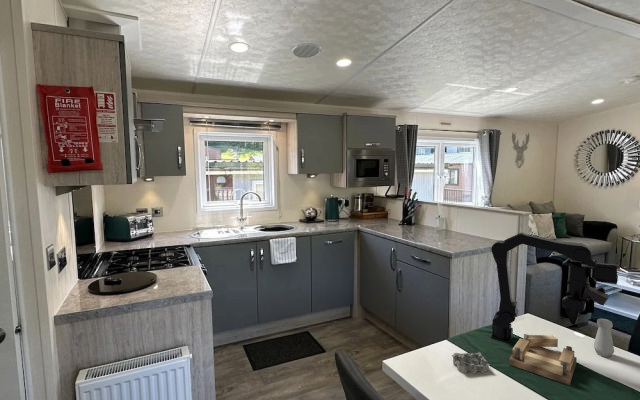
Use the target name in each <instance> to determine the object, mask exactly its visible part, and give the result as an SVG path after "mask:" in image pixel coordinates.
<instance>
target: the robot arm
mask: <svg viewBox="0 0 640 400" xmlns="http://www.w3.org/2000/svg"><path fill="white" fill-rule="evenodd" d="M520 245H525V246H529V247H534V248H538V249H542V250H546V251H548V252H554V253H556V254H557V253H558V254H560V255H562V256H564V257H567V259H565V260H564V261H562V265H563V266H568V278H567V280H566V284H567V290H566V292H565V293H566V294H565V295H566V296H563V298H562V300H561V306H562V307H563V310H564V311H565V313H566V315H567V318H568V320H569V322H570V325H573V326H575V325H576V323H577V321H578V318H579V317H580V315H581V313H582V312H584V311H585V310H586V305H587V304H586V303H587V302H589V301H590V300H591V301H593V302H594V303H596V304H598V305H600V306H602V307H603V306H605V304H606V303H607V301H608V299H609V297H610V296H609V294H608V293H606V288H605V287H601V286H600V287H597V288H596V287H592V286H591V283H590V282H589V276H590V278H591V279H593V281H594V282H597V283H604V284H610V285H618V281H619V276H618V265H617V264H615V263H603V262H596V259H595V258H593V257H592V252H591V250H590V248H589V246H587V244H586V243H585V244H584V243H581V242H568V241H567V242H565V241H558V240H555V239H554V240H553V239H549V238H545V237H539V236H536V235H531V234H529V233H528V234H527V233H525V232H517V233H516V234H515V235H512V236H510V237H508V238H506V239H505V240H501V239H500V240H496V241H495V242H494V243H493V245H491V248H490V250H491V254H492V257H493V259H494V262H495V264H496V271H497V279H498V280H497V281H498V287H499V288H498V290H499V296H500V297H499V298H500V301H499V307H498V311H497V312H495V314H494V316H493V318H492V325H491V326H492V327H491V330H492V331H491V332H492V334H491V335H490V338H492V339H495V340H498V341H502V342H504V343H509V342H510V341H511V340H512V339H513V337H514V336H513V335H514V334H513V333H514V332H513V331H514V328H513V327H512V324H513V322H515V320H516V318H517V317H518V314H519V309H518V301H514V299H513V297H512V289H511V282H510V273H509V271H510V270H509V258H510V257H509V255H510V251H512V250H513V249H515V248H517V247H519V246H520Z"/></svg>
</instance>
